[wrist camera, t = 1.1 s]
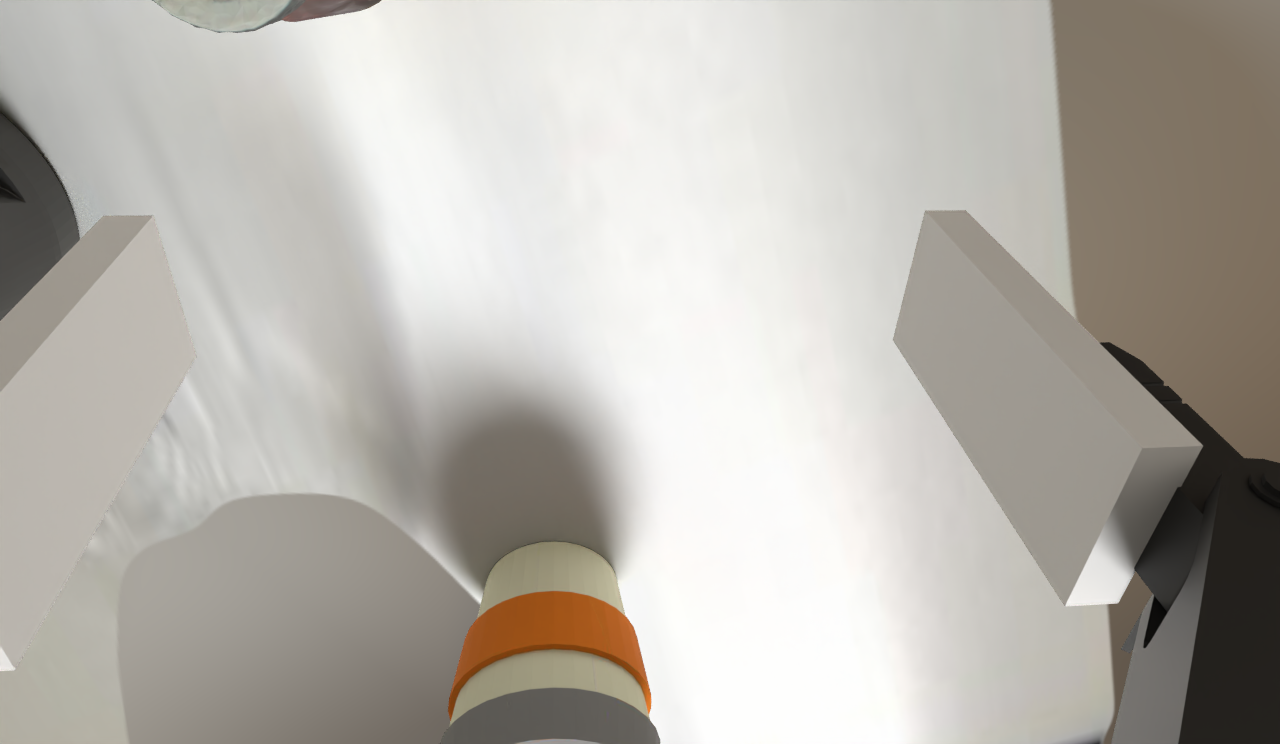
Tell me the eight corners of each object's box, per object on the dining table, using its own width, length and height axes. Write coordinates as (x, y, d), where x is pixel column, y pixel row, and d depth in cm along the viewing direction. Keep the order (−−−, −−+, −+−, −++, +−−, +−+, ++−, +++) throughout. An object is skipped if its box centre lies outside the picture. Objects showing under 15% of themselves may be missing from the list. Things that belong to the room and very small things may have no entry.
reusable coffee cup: (423, 605, 58) (387, 825, 46) (527, 493, 53) (518, 706, 41) (572, 666, 63) (575, 879, 51) (680, 569, 58) (712, 780, 46)
